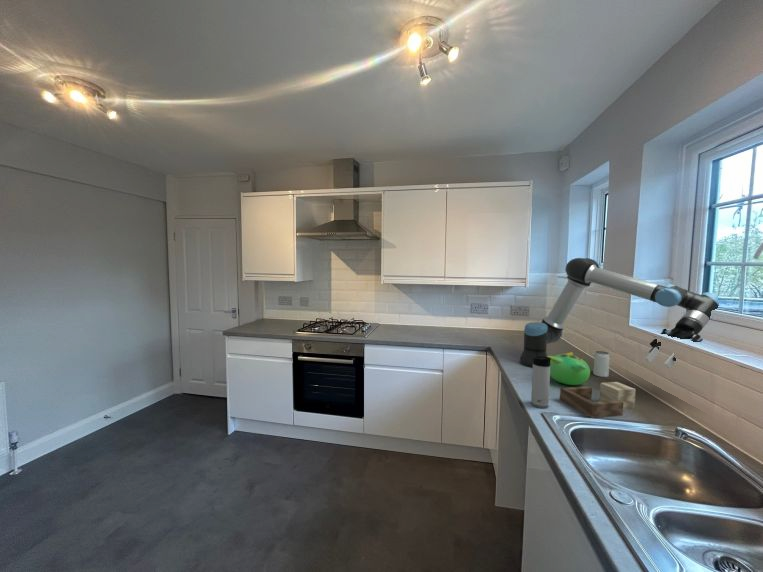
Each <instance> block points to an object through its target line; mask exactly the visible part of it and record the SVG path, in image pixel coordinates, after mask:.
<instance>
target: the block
mask: <svg viewBox="0 0 763 572" xmlns="http://www.w3.org/2000/svg"><path fill="white" fill-rule="evenodd" d="M599 389H600V390H599V402H601V401H614V400H619V401H622V402H623V411H624V410H625V411H626V410H635V405H636V388H634V387H630V386H628V385H626V384H624V383H621V382H620V381H619V382H618V381H608V382H601V383H600V387H599Z"/></svg>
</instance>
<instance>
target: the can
mask: <svg viewBox="0 0 763 572" xmlns="http://www.w3.org/2000/svg"><path fill="white" fill-rule="evenodd" d="M610 361H611V359H610V354H609V352H606V351H601V350H596V351H595V353H594V355H593V374H594V376H596V377H601V378H608V377H609V375H610V373H609V372H610Z"/></svg>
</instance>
